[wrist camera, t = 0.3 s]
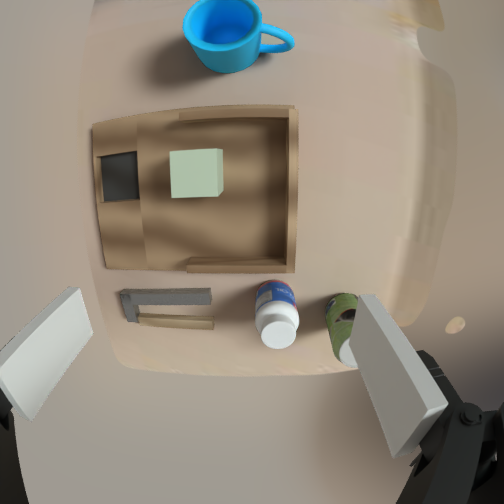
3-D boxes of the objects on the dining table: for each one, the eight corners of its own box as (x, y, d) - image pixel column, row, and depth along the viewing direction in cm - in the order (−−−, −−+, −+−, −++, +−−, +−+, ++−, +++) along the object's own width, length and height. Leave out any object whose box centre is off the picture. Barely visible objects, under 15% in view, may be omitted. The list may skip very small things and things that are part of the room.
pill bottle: (301, 295, 39) (312, 336, 30) (273, 317, 40) (277, 361, 31) (275, 270, 38) (280, 307, 29) (247, 295, 39) (245, 336, 30)
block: (181, 151, 31) (169, 151, 26) (222, 149, 31) (216, 148, 26) (183, 191, 33) (171, 198, 28) (223, 190, 33) (217, 196, 28)
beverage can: (343, 329, 41) (366, 382, 30) (308, 310, 40) (324, 364, 29) (369, 300, 39) (400, 347, 28) (334, 278, 38) (361, 325, 27)
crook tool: (124, 288, 39) (119, 294, 38) (210, 287, 39) (208, 293, 37) (131, 315, 41) (127, 321, 39) (214, 316, 41) (213, 323, 39)
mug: (191, 70, 29) (174, 49, 21) (204, 20, 26) (192, -8, 18) (285, 82, 29) (294, 62, 22) (295, 31, 27) (304, 3, 19)
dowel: (141, 311, 41) (137, 316, 40) (213, 315, 41) (212, 321, 39) (143, 319, 42) (139, 325, 40) (214, 323, 41) (213, 329, 40)
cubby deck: (98, 124, 31) (80, 122, 27) (292, 107, 30) (298, 100, 26) (111, 265, 38) (97, 277, 34) (290, 266, 38) (294, 280, 33)
